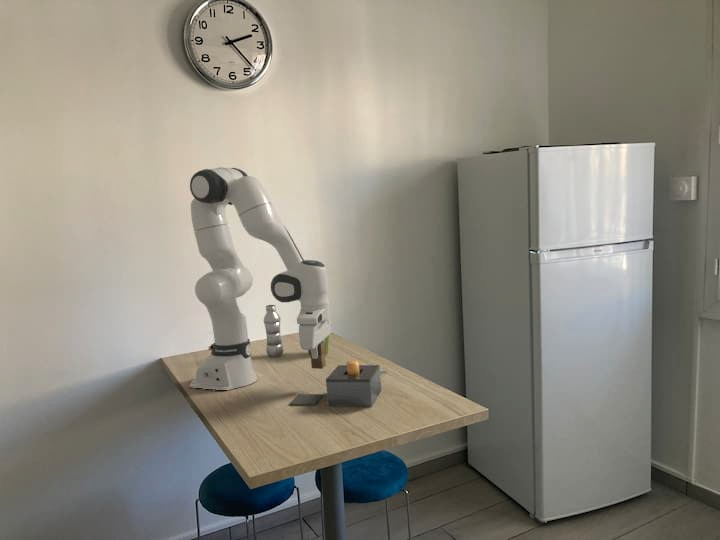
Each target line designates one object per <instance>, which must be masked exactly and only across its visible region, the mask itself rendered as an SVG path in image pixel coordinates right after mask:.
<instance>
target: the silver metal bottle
mask: <svg viewBox="0 0 720 540" xmlns="http://www.w3.org/2000/svg"><path fill="white" fill-rule="evenodd" d="M276 310H277V308H276V304H268V305H265V311H266V313H265V314H264V317H263V323H264V327H265V328H264V329H265V334H266V350H265V351H266V354H267V356H269V357H272V358H274V357H275V356H276V357H280V356H282V355H283V353H284V345H283V343H282V337H281V316H280V314H278V313H277V311H276Z"/></svg>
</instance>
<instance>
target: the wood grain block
mask: <svg viewBox="0 0 720 540" xmlns="http://www.w3.org/2000/svg"><path fill="white" fill-rule="evenodd" d="M317 351H318V352H319V357H318V358H317V359H313V358H312V353H311V356H310V362H311V369H315V370H318V369H319V370H323V369H324V367H326V365H327V364H326V355H325V344H324V341H322V342H321V343H319V344H318V348H317Z"/></svg>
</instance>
